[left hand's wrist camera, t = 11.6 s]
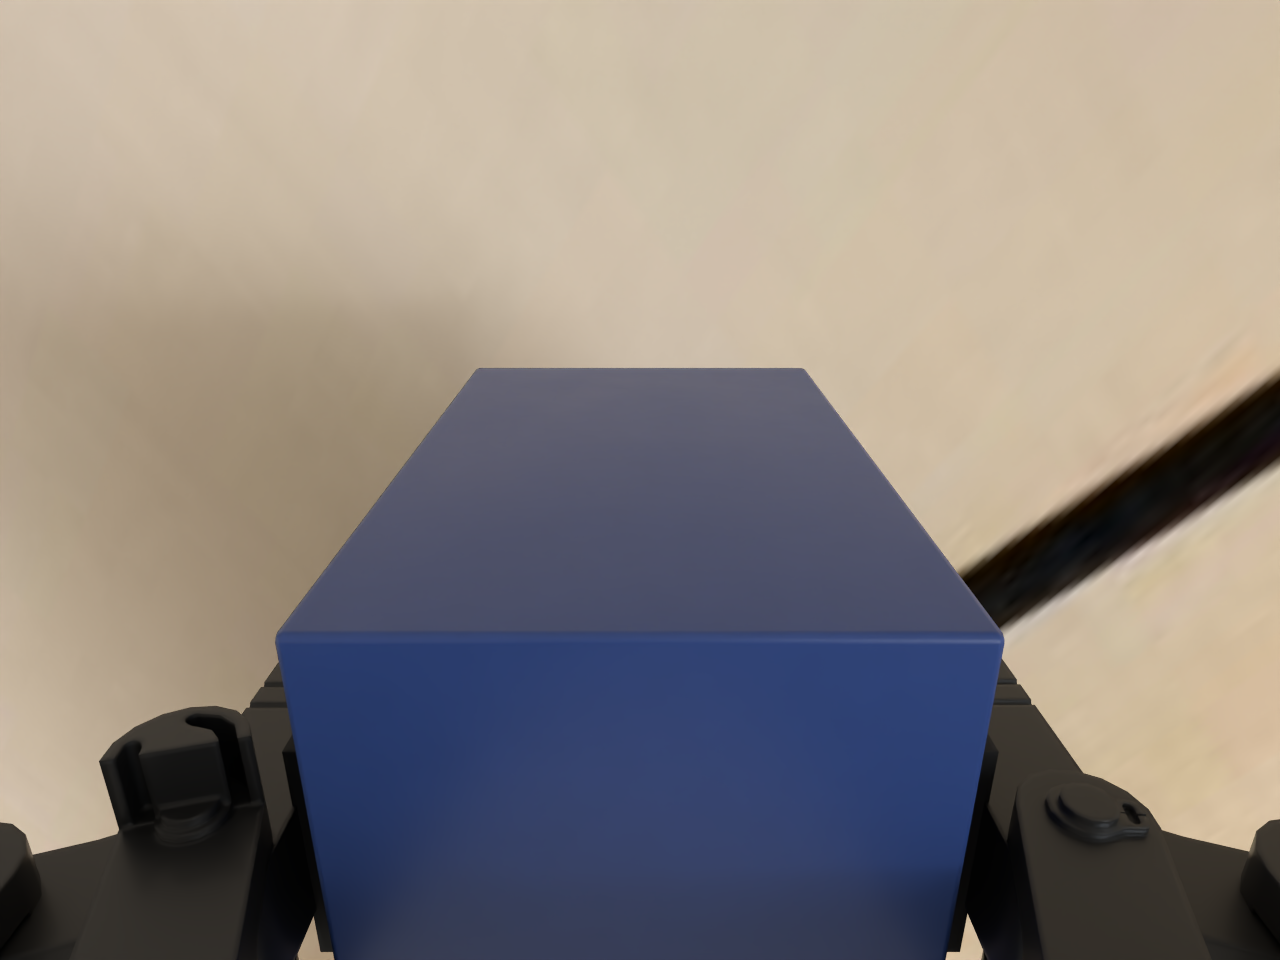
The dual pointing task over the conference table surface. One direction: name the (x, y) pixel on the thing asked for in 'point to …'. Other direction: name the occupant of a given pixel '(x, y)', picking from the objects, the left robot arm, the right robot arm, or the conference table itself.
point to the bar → (639, 685)
